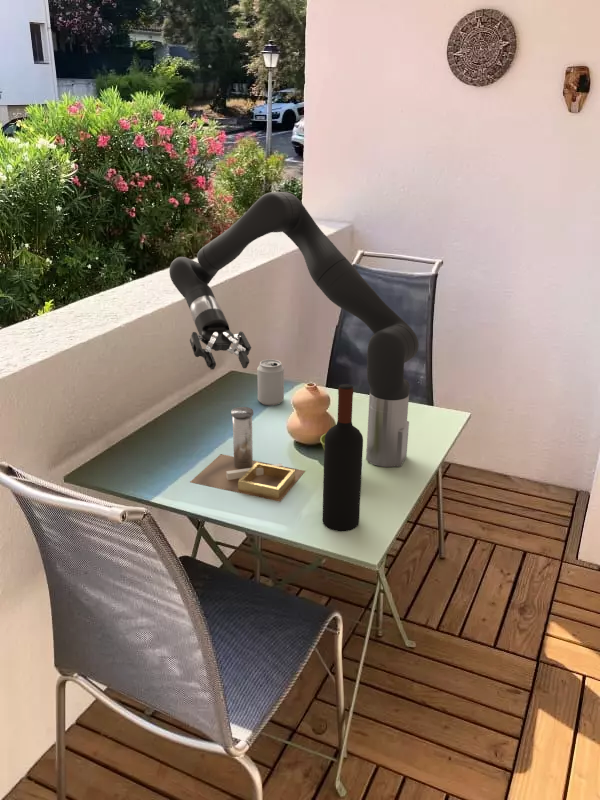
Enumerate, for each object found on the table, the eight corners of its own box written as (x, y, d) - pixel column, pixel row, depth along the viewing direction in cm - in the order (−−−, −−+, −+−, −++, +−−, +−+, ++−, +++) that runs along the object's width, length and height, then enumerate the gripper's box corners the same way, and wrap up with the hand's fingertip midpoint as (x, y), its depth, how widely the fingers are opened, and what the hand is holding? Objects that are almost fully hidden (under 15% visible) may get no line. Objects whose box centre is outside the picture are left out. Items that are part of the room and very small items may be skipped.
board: (305, 474, 168) (305, 470, 168) (280, 505, 155) (280, 501, 155) (220, 457, 175) (220, 454, 175) (190, 485, 163) (189, 482, 162)
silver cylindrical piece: (257, 462, 171) (256, 408, 166) (248, 471, 167) (247, 417, 162) (238, 458, 173) (237, 405, 168) (229, 467, 169) (227, 413, 163)
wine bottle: (317, 527, 148) (320, 390, 136) (329, 509, 154) (333, 377, 143) (352, 534, 145) (359, 396, 134) (363, 516, 152) (370, 382, 140)
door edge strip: (226, 477, 164) (226, 471, 164) (281, 469, 168) (281, 463, 168) (227, 480, 163) (227, 473, 163) (282, 471, 167) (282, 465, 166)
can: (283, 406, 205) (283, 367, 200) (256, 406, 205) (256, 366, 200) (284, 396, 212) (284, 358, 207) (258, 396, 212) (258, 357, 207)
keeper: (295, 479, 164) (295, 469, 163) (278, 499, 156) (278, 489, 155) (256, 471, 167) (256, 462, 166) (238, 490, 159) (238, 481, 158)
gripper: (186, 307, 174) (207, 356, 165) (239, 307, 181) (261, 355, 173) (178, 329, 179) (198, 378, 170) (230, 328, 186) (251, 375, 178)
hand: (230, 366), depth 171 cm, fingers open, 8 cm apart
